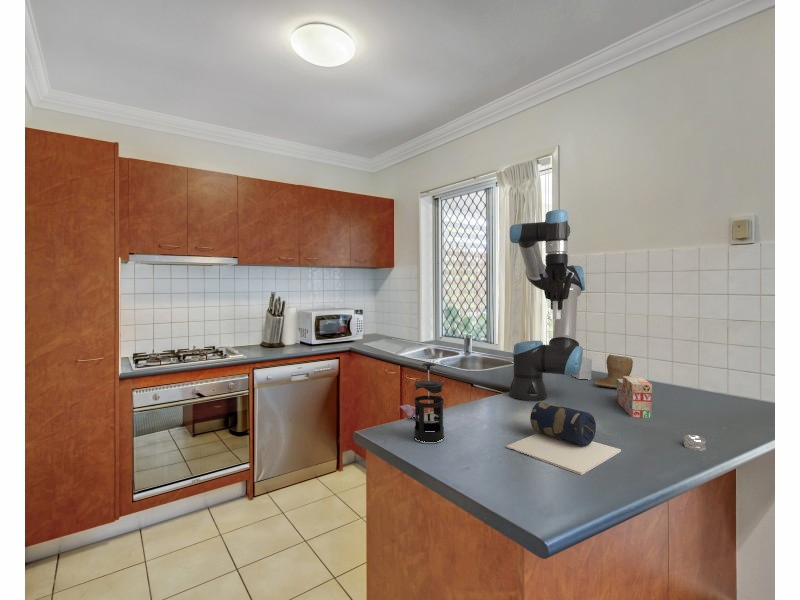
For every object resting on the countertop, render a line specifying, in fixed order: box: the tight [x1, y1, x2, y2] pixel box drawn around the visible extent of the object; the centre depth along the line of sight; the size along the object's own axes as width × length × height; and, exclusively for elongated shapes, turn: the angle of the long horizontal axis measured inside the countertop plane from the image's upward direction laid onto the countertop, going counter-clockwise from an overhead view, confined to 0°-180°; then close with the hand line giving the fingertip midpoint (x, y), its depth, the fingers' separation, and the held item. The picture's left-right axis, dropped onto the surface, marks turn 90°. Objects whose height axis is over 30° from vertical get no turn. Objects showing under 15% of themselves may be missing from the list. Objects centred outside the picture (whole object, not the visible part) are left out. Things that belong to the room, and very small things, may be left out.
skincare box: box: [571, 355, 593, 381], centre depth 204 cm, size 10×6×10 cm, turn 179°
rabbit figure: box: [398, 404, 415, 419], centre depth 142 cm, size 6×6×15 cm
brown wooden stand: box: [594, 354, 634, 389], centre depth 183 cm, size 15×12×15 cm
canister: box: [529, 401, 597, 446], centre depth 119 cm, size 10×10×18 cm
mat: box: [505, 432, 622, 476], centre depth 113 cm, size 22×22×1 cm
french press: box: [413, 362, 445, 442], centre depth 123 cm, size 12×9×23 cm
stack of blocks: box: [616, 376, 653, 420], centre depth 150 cm, size 21×6×12 cm, turn 165°
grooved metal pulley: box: [683, 434, 707, 452], centre depth 114 cm, size 5×3×5 cm
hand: (556, 318), depth 146 cm, fingers closed
